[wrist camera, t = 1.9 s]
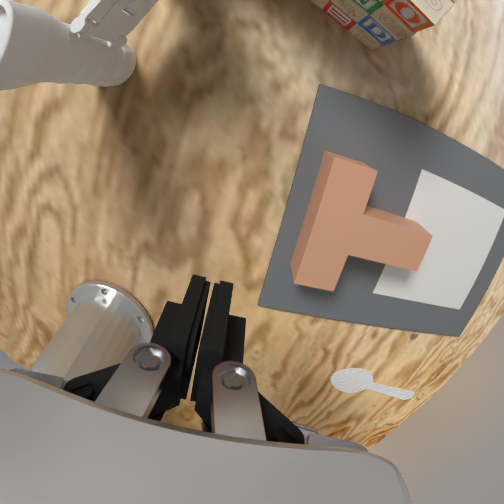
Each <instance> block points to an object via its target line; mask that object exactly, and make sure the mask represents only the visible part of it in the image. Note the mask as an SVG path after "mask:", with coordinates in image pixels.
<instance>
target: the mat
mask: <svg viewBox="0 0 504 504" xmlns="http://www.w3.org/2000/svg"><path fill="white" fill-rule="evenodd" d="M324 151H328V152H331V153H334V154H338V155H341V156H344V157H347V158H350V159H353V160H356V161H360V162H363V163H365V164H366V165H368V166H370V167H372V168H373V169H375V170H377V171H378V172H377V175H376V179H375V182H374V185H373V188H372V191H371V194H370V197H369V199H368V202H367V205H366V206H370V207H373V208H376V209H379V210H383V211H386V212H389V213H392V214H395V215H398V216H401V217H404V218H407V219H410V220H413V221H416V222H417V223H418V224H420V225H421V226H422V227H423V228H424V229H425V230H427V231H428V232H429V233H430V234H431V235H432V236H433V237H432V239H431V242H430V244H429V246H428V249H427V251H426V253H425V255H424V258H423V260H422V262H421V264H420V266H419V268H418V271H417V272H416V271H412V270H408V269H404V268H400V267H396V266H392V265H388V264H384V263H380V262H375V261H371V260H367V259H363V258H359V257H355V256H350V255H348V257H347V259H346V262H345V264H344V267H343V269H342V272H341V274H340V277H339V279H338V282H337V284H336V286H335V289H334V291H329V290H323V289H318V288H313V287H308V286H304V285H299V284H294V281H293V276H292V270H291V265H290V263H291V259H292V256H293V253H294V250H295V247H296V244H297V241H298V237H299V234H300V231H301V228H302V225H303V221H304V218H305V215H306V212H307V208H308V205H309V202H310V198H311V195H312V192H313V188H314V185H315V182H316V178H317V175H318V171H319V168H320V165H321V161H322V158H323V154H324ZM503 257H504V169H503V168H501V167H500V166H498V165H497V164H495V163H493V162H492V161H490V160H489V159H487V158H485V157H484V156H482V155H480V154H479V153H477V152H475V151H474V150H472V149H470V148H468V147H467V146H465V145H463V144H461V143H460V142H458V141H456V140H454V139H452V138H450V137H448V136H446V135H445V134H443V133H441V132H439V131H437V130H435V129H433V128H431V127H429V126H427V125H424V124H422V123H420V122H418V121H416V120H414V119H412V118H409V117H407V116H405V115H403V114H400V113H398V112H396V111H393V110H391V109H389V108H386V107H384V106H381V105H379V104H376V103H374V102H371V101H368V100H366V99H363V98H360V97H358V96H355V95H352V94H349V93H346V92H343V91H340V90H337V89H334V88H331V87H328V86H325V85H322V84H319V87H318V91H317V95H316V98H315V102H314V106H313V110H312V114H311V117H310V121H309V125H308V129H307V132H306V136H305V140H304V143H303V147H302V151H301V155H300V158H299V162H298V165H297V169H296V173H295V176H294V180H293V184H292V187H291V191H290V194H289V198H288V201H287V205H286V209H285V212H284V216H283V219H282V223H281V226H280V230H279V233H278V237H277V240H276V244H275V247H274V251H273V254H272V257H271V261H270V264H269V268H268V271H267V275H266V278H265V281H264V285H263V288H262V291H261V295H260V298H259V302H258V306H263V307H268V308H273V309H279V310H284V311H289V312H295V313H300V314H306V315H311V316H317V317H323V318H329V319H335V320H341V321H347V322H354V323H360V324H367V325H373V326H380V327H387V328H394V329H401V330H409V331H417V332H425V333H433V334H441V335H450V336H460V335H461V333H462V332H463V330H464V328H465V327H466V325H467V324H468V322H469V320H470V319H471V317H472V315H473V314H474V312H475V310H476V309H477V307H478V305H479V303H480V302H481V300H482V298H483V296H484V294H485V293H486V291H487V289H488V287H489V285H490V283H491V281H492V279H493V277H494V275H495V273H496V271H497V269H498V267H499V265H500V263H501V261H502V259H503Z"/></svg>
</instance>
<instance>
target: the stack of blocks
mask: <svg viewBox="0 0 504 504" xmlns="http://www.w3.org/2000/svg"><path fill="white" fill-rule="evenodd" d="M310 1H312V2H313V3H314V4H316V5H317V6H319V7H320V8H322V9H323V11H324V12H326V13H327V14H328V15H329V16H331V17H332V18H333V19H335V20H336V21H337V22H338V23H340V24H341V25H342V26H343V27H344V28H346V29H347V30H348V31H349V32H350V33H351V34H352V35H354V36H355V37H356V38H357V39H358V40H359V41H360V42H362V43H363V44H364V45H365V46H366V47H367V48H368V49H369V50H371V51H373V50H375V49H377V48H379V47H382V46H383V45H386V44H389V43H391V42H394V41H396V40H401V39H404V38H407V37H409V36H412V35H414V34H415V33H416V32H417V31H420V30H423V29H425V28H428V27H431V26H434V25H436V24H437V22H438V21H439V20H440V19H441V18H442V17H443V16H444V15H445V14H446V13H447V12H448V11H449V10H450V9H451V8H452V7H453V6H454V3H455V2H457V1H458V0H310Z"/></svg>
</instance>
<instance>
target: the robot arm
mask: <svg viewBox="0 0 504 504" xmlns="http://www.w3.org/2000/svg"><path fill="white" fill-rule="evenodd" d="M209 287H210V282H208V281H206V277H202V276H197V275H193V276H192V278H191V281H190V284H189V286H188V289H187V292H186V294H185V297H184V300H183V303H182V304H178V303H174V302H170V301H167V303H166V305H165V307H164V310H163V312H162V314H161V317H160V319H159V321H158V324H157V326H156V329H155V331H154V333H153V326H152V322H151V320H150V317H149V315H148V314H147V312H146V310H145V309H144V307H143V306H142V305H141V304H140V303H139V302H138V301H137V300H136V299H135V298H134V297H133V296H132V295H131V294H129V293H128V292H126V291H125V290H123V289H122V288H120V287H118V286H116V285H114V284H110V283H107V282H103V281H87V282H84V283H81V284H80V285H78V286H77V287H76V288H75V289H74V290H73V291H72V292H71V294H70V295H69V297H68V300H67V306H66V310H67V316H68V317H67V318H66V320H65V321H64V322H63V324H62V325H61V327H60V328H59V329H58V331H57V332H56V333H55V335H54V336H53V338H52V339H51V340H50V342H49V343H48V345H47V346H46V348H45V349H44V350H43V352H42V353H41V355H40V356H39V358H38V359H37V361H36V362H35V364H34V365H33V367H32V368H31V370H30V371H29V370H24V369H19V368H15V369H11V370H4V369H0V504H412V503H411V500H410V496H409V493H408V489H407V486H406V484H405V481H404V479H403V477H402V475H401V473H400V471H399V470H398V468H397V467H396V466H395V465H394V464H393V463H392V462H390V461H389V460H387V459H385V458H383V457H381V456H378V455H375V454H372V453H369V452H368V451H367V449H366V448H365V447H363V446H362V445H360V444H357V443H353V442H349V441H344V440H339V439H335V438H331V437H326V436H322V435H318V434H314V433H311V432H310V434H309V435H308V434H304V433H302V431H301V430H300V429H299V428H298V427H297V426H296V425H295V424H293V423H292V422H291V421H290V420H289V419H288V418H287V417H285V416H284V415H283V414H282V413H281V412H280V411H279V410H278V409H276V408H275V407H274V406H273V405H272V404H271V403H270V402H269V401H268V400H267V399H265V398H264V397H263V396H262V395H261V394H260V393H259V392H258V389H257V383H256V378H255V375H254V373H253V371H252V370H251V369H250V368H249V367H247V366H246V365H244V364H243V354H244V340H245V326H246V318H243V317H238V316H233V315H229V310H230V304H231V297H232V290H233V283H229V282H225V281H220V284H217V283H214V287H213V291H212V295H211V299H210V304H209V308H208V312H207V316H206V320H205V324H204V329H203V333H202V337H201V341H200V346H199V351H198V357H197V363H196V369H195V375H194V381H193V387H192V393H191V400H190V401H195V402H196V404H195V409H194V410H195V411H196V412H197V414H198V415H199V416H200V417H201V418H202V423H201V427H202V431H199V430H194V429H189V428H185V427H180V426H176V425H171V424H167V423H163V422H164V420H165V418H166V416H167V412H168V410H170V409H172V408H174V407H176V406H179V403H180V399H186V397H187V392H188V388H189V384H190V379H191V375H192V370H193V366H194V362H195V357H196V353H197V349H198V345H199V340H200V336H201V331H202V325H203V320H204V314H205V309H206V303H207V298H208V293H209Z"/></svg>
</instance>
